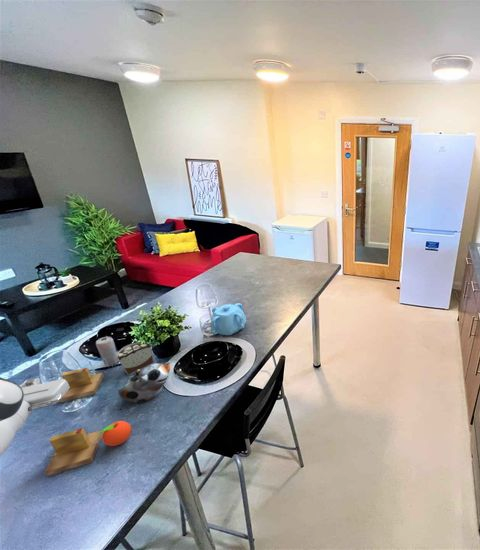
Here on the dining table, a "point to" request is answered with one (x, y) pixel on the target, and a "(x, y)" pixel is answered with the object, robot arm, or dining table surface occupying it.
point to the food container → (135, 357)
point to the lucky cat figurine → (145, 383)
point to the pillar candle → (107, 351)
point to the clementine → (116, 433)
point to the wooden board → (75, 456)
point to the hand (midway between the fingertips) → (33, 380)
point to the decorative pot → (228, 319)
